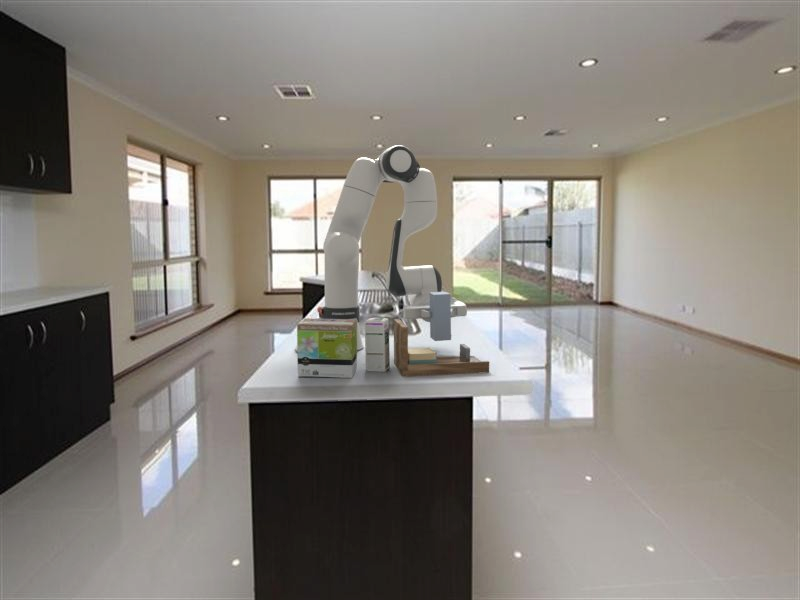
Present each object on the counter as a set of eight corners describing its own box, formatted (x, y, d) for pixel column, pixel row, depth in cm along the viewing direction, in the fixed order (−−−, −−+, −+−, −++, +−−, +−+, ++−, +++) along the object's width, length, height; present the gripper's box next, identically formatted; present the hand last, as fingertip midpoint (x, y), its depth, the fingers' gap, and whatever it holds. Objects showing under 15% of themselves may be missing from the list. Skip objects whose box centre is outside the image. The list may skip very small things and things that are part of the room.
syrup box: (385, 372, 149) (385, 320, 147) (365, 371, 150) (364, 320, 148) (390, 367, 154) (389, 317, 153) (370, 366, 156) (369, 317, 154)
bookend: (459, 360, 156) (459, 343, 155) (477, 360, 157) (477, 343, 156) (465, 365, 150) (466, 348, 149) (484, 364, 151) (484, 347, 150)
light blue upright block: (434, 341, 160) (433, 294, 159) (430, 337, 166) (429, 292, 164) (451, 340, 161) (450, 293, 159) (445, 336, 167) (445, 291, 165)
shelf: (393, 364, 158) (393, 318, 156) (473, 360, 162) (474, 316, 161) (402, 376, 144) (402, 327, 143) (489, 372, 149) (490, 324, 147)
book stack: (403, 361, 155) (403, 347, 155) (430, 360, 156) (430, 346, 156) (409, 368, 147) (409, 354, 147) (437, 367, 148) (437, 352, 148)
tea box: (297, 378, 143) (295, 323, 141) (305, 368, 153) (304, 317, 151) (353, 378, 142) (352, 324, 141) (357, 369, 152) (357, 317, 151)
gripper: (398, 300, 174) (406, 306, 160) (459, 297, 177) (472, 302, 164) (399, 319, 175) (407, 326, 161) (459, 316, 178) (472, 322, 165)
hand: (440, 314), depth 162 cm, fingers closed on light blue upright block, 5 cm apart
